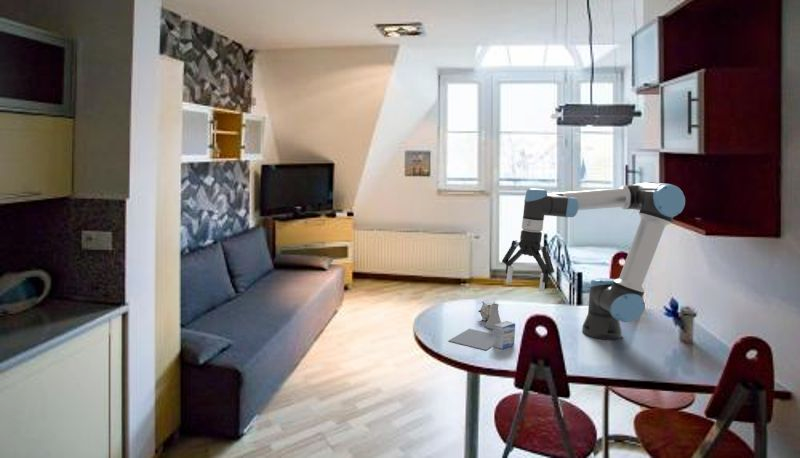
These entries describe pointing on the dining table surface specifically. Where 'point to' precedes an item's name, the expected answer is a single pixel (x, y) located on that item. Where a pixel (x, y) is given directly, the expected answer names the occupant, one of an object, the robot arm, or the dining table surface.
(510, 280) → the robot arm
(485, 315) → the game die
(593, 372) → the dining table surface
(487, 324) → the flask
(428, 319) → the dining table surface
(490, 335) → the mat
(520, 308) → the dining table surface
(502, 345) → the medicine box
